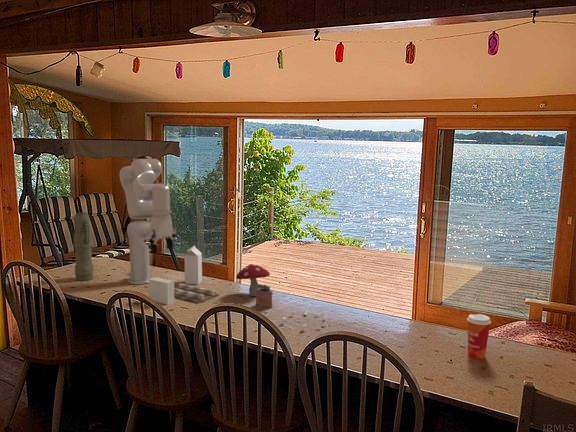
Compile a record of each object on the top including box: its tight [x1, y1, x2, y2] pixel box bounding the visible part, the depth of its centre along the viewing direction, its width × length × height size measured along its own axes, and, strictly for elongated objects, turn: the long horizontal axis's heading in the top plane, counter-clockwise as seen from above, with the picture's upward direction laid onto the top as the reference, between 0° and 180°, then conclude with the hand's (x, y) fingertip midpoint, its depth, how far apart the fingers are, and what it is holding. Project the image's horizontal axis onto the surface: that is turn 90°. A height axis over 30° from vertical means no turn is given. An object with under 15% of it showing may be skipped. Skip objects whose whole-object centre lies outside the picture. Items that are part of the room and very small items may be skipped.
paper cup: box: [466, 313, 492, 360], centre depth 172 cm, size 8×8×14 cm
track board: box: [174, 283, 219, 304], centre depth 237 cm, size 22×14×3 cm, turn 58°
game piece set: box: [280, 309, 329, 332], centre depth 203 cm, size 19×20×4 cm
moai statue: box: [72, 212, 94, 282], centre depth 261 cm, size 9×12×35 cm
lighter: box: [255, 283, 273, 310], centre depth 222 cm, size 8×3×10 cm, turn 65°
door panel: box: [148, 277, 175, 306], centre depth 227 cm, size 12×4×10 cm, turn 58°
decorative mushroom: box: [235, 263, 271, 297], centre depth 238 cm, size 16×16×15 cm
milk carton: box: [184, 245, 203, 285], centre depth 257 cm, size 7×7×19 cm
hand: (162, 250), depth 225 cm, fingers open, 9 cm apart
